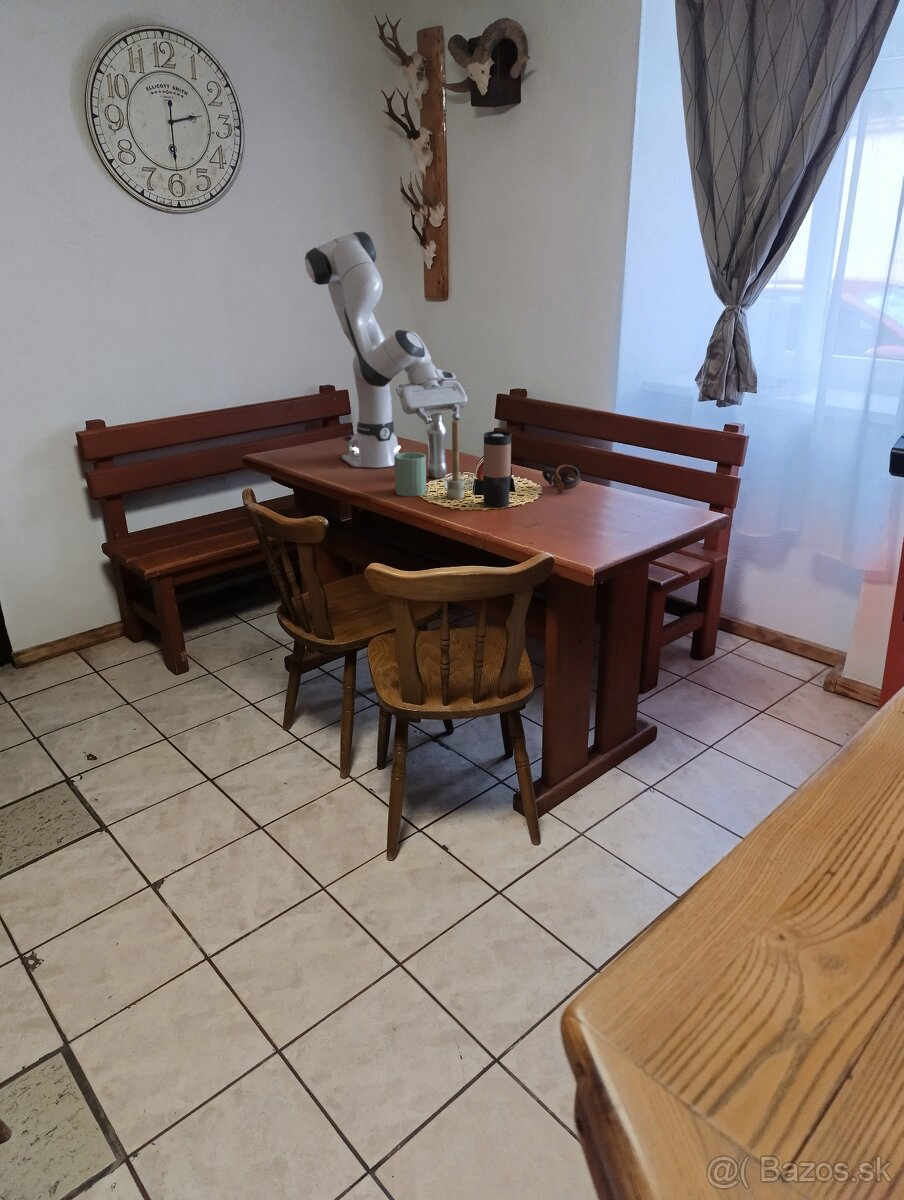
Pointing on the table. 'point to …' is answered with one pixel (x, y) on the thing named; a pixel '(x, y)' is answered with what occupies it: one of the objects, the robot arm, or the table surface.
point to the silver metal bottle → (436, 447)
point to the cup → (410, 474)
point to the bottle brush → (455, 467)
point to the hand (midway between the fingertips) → (443, 421)
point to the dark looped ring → (562, 477)
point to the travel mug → (496, 468)
